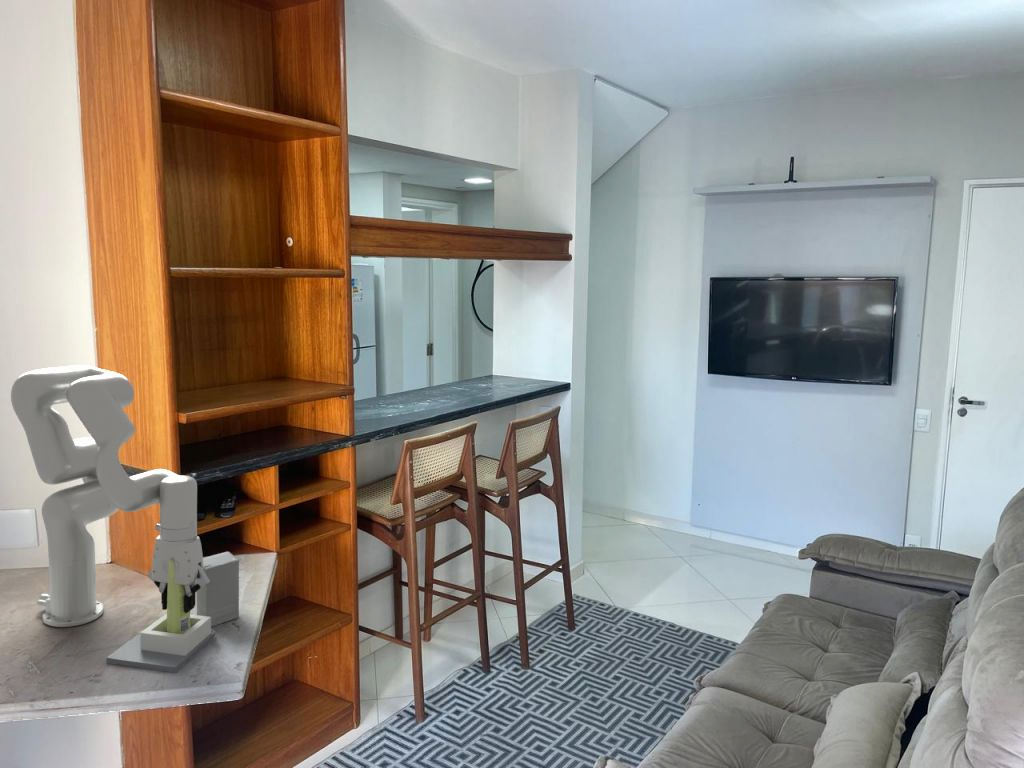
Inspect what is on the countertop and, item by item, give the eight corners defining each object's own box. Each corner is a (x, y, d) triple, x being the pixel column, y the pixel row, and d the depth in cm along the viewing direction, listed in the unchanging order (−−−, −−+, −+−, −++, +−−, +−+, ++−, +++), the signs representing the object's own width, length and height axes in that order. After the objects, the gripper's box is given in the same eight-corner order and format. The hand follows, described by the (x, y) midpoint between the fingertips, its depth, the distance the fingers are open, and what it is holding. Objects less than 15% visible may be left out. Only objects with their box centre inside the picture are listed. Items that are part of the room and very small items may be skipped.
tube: (163, 631, 169) (162, 550, 166) (186, 626, 172) (186, 546, 169) (170, 642, 165) (169, 558, 162) (193, 636, 168) (193, 554, 165)
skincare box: (228, 609, 186) (228, 549, 184) (240, 620, 181) (241, 558, 179) (194, 618, 180) (194, 557, 178) (206, 630, 175) (206, 566, 173)
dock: (106, 662, 159) (105, 640, 158) (152, 628, 175) (151, 607, 174) (175, 672, 157) (175, 649, 156) (215, 636, 173) (215, 615, 172)
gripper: (132, 533, 162) (133, 611, 165) (204, 541, 160) (204, 621, 162) (153, 521, 169) (153, 597, 172) (223, 530, 167) (222, 606, 170)
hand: (178, 607), depth 167 cm, fingers closed on tube, 4 cm apart
